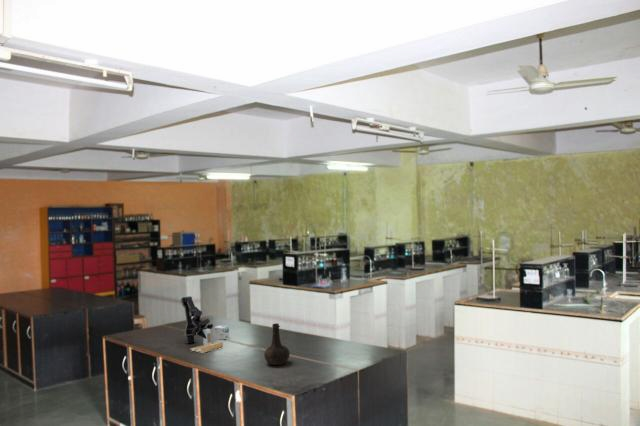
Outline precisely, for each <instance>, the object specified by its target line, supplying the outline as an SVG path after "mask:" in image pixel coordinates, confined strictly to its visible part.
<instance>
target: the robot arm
mask: <svg viewBox="0 0 640 426" xmlns="http://www.w3.org/2000/svg"><path fill="white" fill-rule="evenodd" d="M180 303H181V305H182V307H183V308H184V313H185V321H186V325H185V329H184V332H183V333H184V335H183V336H184V337H186V342H188V343H192V342H195V336H199V337H201V338H205V339H206V336H205V334H204V333H203V330H204V329H211V330H212V329H213V328H214V325H213V323H210V319H209V318H206V319H205V320H202V319H201V318H202V315H203V311H202V310H200V309H199V308H198V307H197V306H195V303H194V300H193V297H192V295H191V296H185V297H184V296H183V297H181V299H180ZM192 344H193V343H192Z"/></svg>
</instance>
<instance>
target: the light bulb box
mask: <svg viewBox="0 0 640 426" xmlns="http://www.w3.org/2000/svg"><path fill="white" fill-rule="evenodd" d="M214 338H219V339H226V340H228V339H227V338H229V339H230V326H229V325H217V326H215V327H214Z"/></svg>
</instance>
